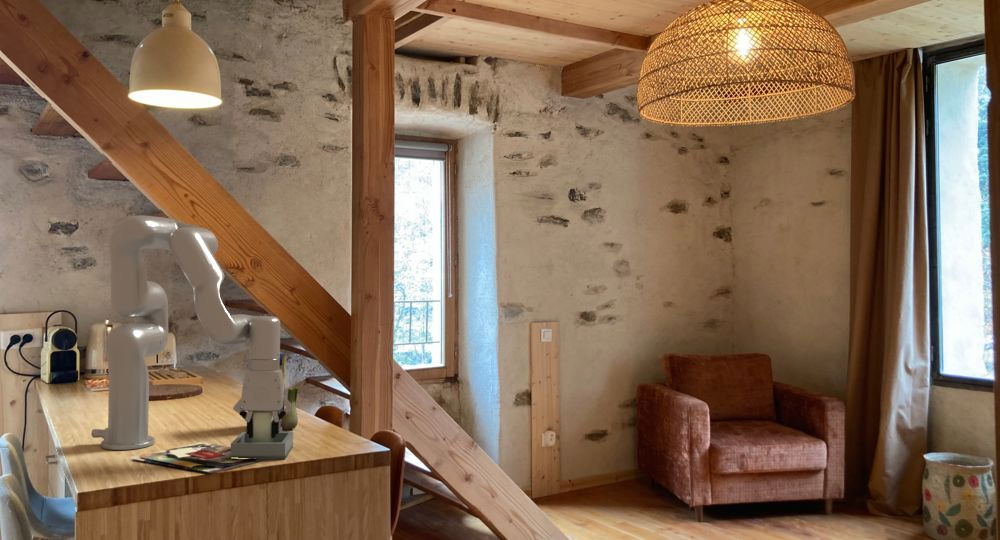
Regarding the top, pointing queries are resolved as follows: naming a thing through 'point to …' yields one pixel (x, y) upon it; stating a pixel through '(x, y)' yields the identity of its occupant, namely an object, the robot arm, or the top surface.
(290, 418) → the fennel bulb
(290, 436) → the bin
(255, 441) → the white ceramic cup
